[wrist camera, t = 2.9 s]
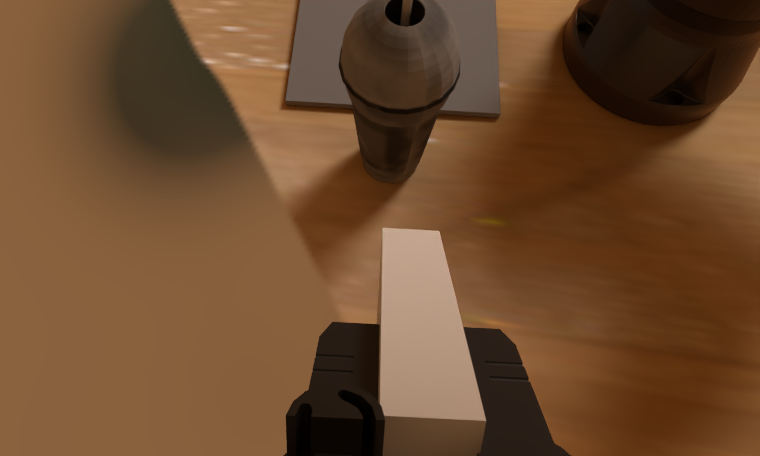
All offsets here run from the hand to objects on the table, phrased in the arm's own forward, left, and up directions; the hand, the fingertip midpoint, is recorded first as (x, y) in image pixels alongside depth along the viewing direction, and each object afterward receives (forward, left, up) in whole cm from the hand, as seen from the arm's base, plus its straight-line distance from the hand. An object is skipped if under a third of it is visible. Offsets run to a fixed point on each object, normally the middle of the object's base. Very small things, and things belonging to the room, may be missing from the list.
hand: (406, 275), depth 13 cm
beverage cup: (-11, -11, -22) cm, 27 cm away
